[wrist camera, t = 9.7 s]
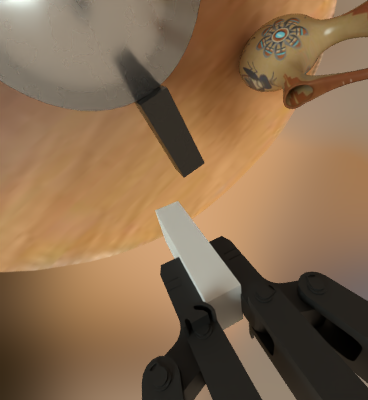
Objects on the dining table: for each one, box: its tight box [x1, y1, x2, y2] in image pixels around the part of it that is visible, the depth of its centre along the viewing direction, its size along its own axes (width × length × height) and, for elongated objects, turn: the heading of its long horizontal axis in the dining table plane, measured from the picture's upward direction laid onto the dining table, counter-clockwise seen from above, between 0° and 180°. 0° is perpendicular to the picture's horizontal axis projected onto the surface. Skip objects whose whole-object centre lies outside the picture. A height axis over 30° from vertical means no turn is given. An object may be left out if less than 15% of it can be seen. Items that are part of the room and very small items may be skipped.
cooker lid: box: [0, 0, 204, 177], centre depth 20 cm, size 32×22×3 cm
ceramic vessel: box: [239, 0, 368, 109], centre depth 33 cm, size 16×9×25 cm, turn 133°
